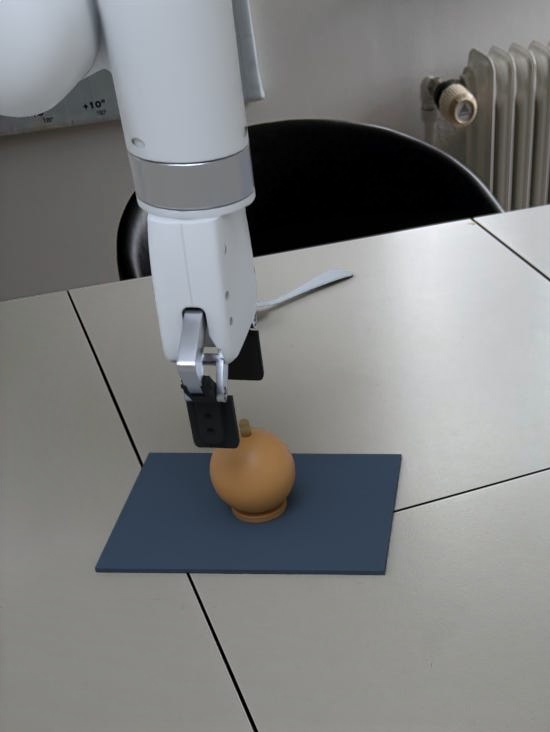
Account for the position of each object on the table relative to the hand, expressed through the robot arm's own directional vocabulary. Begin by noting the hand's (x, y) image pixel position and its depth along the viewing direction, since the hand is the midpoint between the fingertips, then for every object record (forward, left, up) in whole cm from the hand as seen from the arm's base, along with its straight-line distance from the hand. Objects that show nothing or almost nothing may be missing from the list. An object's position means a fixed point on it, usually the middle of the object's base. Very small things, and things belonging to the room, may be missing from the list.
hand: (231, 410), depth 78 cm
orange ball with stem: (+1, 0, -9) cm, 9 cm away
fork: (-4, +38, -9) cm, 39 cm away
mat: (+1, 0, -9) cm, 9 cm away
